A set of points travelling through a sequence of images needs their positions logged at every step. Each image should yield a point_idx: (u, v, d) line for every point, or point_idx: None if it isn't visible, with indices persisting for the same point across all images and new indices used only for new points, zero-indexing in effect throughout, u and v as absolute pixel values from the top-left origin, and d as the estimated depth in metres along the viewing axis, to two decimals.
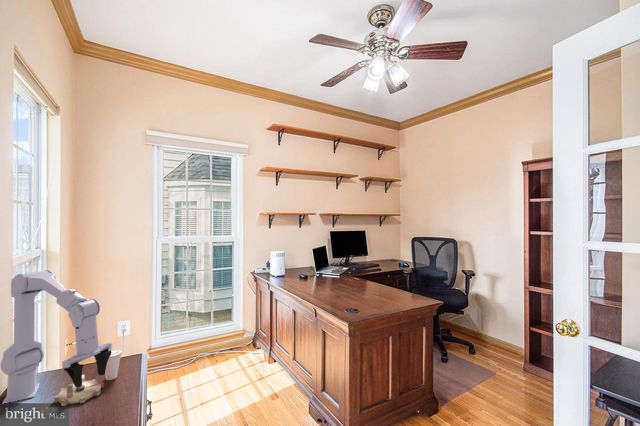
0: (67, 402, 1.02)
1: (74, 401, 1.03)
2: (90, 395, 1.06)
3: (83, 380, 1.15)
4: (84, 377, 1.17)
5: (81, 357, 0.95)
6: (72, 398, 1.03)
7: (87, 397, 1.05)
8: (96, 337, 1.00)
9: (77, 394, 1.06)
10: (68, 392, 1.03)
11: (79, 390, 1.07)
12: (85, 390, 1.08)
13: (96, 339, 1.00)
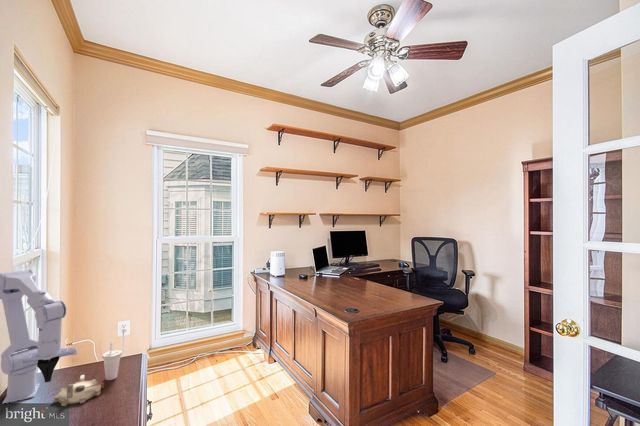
0: (67, 402, 1.02)
1: (74, 401, 1.03)
2: (90, 395, 1.06)
3: (83, 380, 1.15)
4: (84, 377, 1.17)
5: (33, 358, 0.97)
6: (72, 398, 1.03)
7: (87, 397, 1.05)
8: (53, 342, 1.00)
9: (77, 394, 1.06)
10: (68, 392, 1.03)
11: (79, 390, 1.07)
12: (85, 390, 1.08)
13: (52, 344, 1.00)
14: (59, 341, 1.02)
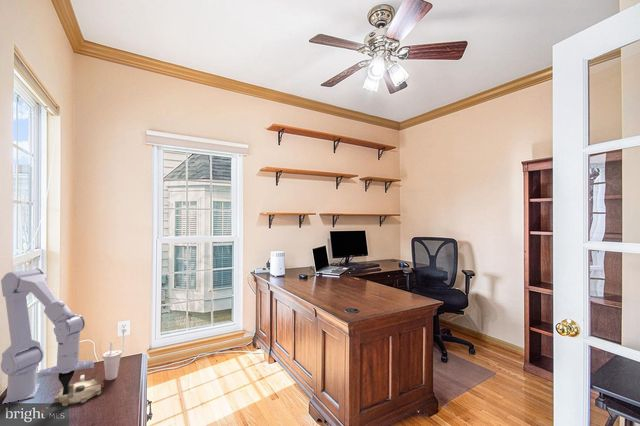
0: (68, 402, 1.02)
1: (75, 401, 1.03)
2: (91, 395, 1.06)
3: (83, 380, 1.15)
4: (84, 377, 1.17)
5: (52, 372, 1.00)
6: (73, 398, 1.03)
7: (88, 397, 1.06)
8: (71, 356, 1.02)
9: (78, 394, 1.06)
10: (69, 392, 1.03)
11: (79, 390, 1.07)
12: (85, 390, 1.08)
13: (71, 358, 1.02)
14: (77, 354, 1.04)
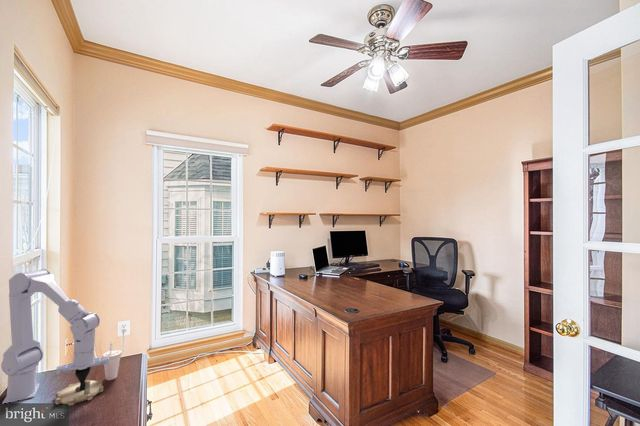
0: None
1: (96, 392, 1.08)
2: (100, 385, 1.12)
3: None
4: None
5: (69, 368, 1.03)
6: (93, 391, 1.08)
7: None
8: (88, 352, 1.05)
9: None
10: (88, 387, 1.06)
11: None
12: None
13: (87, 354, 1.05)
14: (93, 351, 1.07)
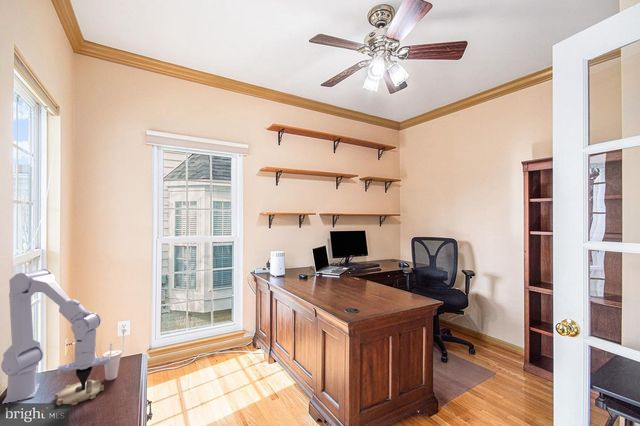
0: None
1: (97, 391, 1.09)
2: None
3: None
4: None
5: (71, 368, 1.03)
6: (94, 390, 1.08)
7: None
8: (89, 352, 1.05)
9: None
10: (91, 386, 1.07)
11: None
12: None
13: (88, 354, 1.05)
14: (94, 351, 1.07)
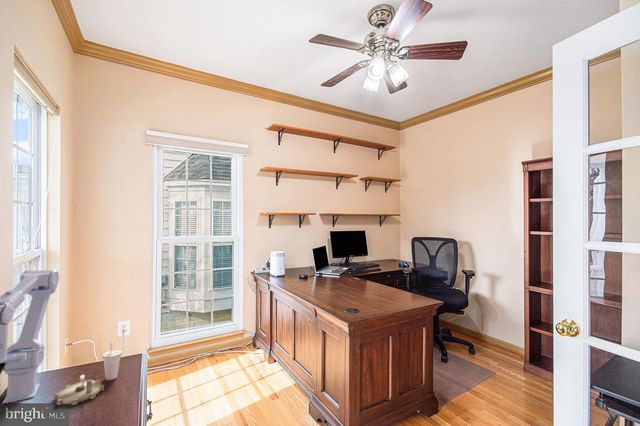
0: None
1: (97, 391, 1.09)
2: None
3: None
4: (84, 377, 1.17)
5: None
6: (95, 390, 1.08)
7: None
8: None
9: None
10: (91, 386, 1.07)
11: (84, 388, 1.09)
12: None
13: None
14: (5, 346, 0.94)
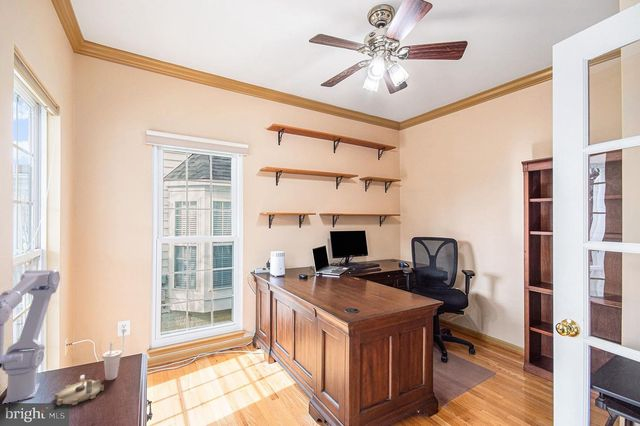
0: None
1: (97, 391, 1.09)
2: None
3: None
4: (84, 377, 1.17)
5: None
6: (95, 390, 1.08)
7: None
8: None
9: None
10: (91, 386, 1.07)
11: (84, 388, 1.09)
12: None
13: None
14: (1, 347, 0.93)
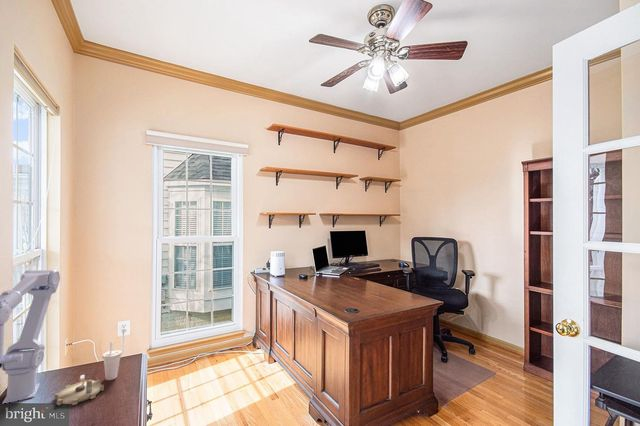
0: None
1: (97, 391, 1.09)
2: None
3: None
4: (84, 377, 1.17)
5: None
6: (95, 390, 1.08)
7: None
8: None
9: None
10: (91, 386, 1.07)
11: (84, 388, 1.09)
12: None
13: None
14: (1, 347, 0.93)
